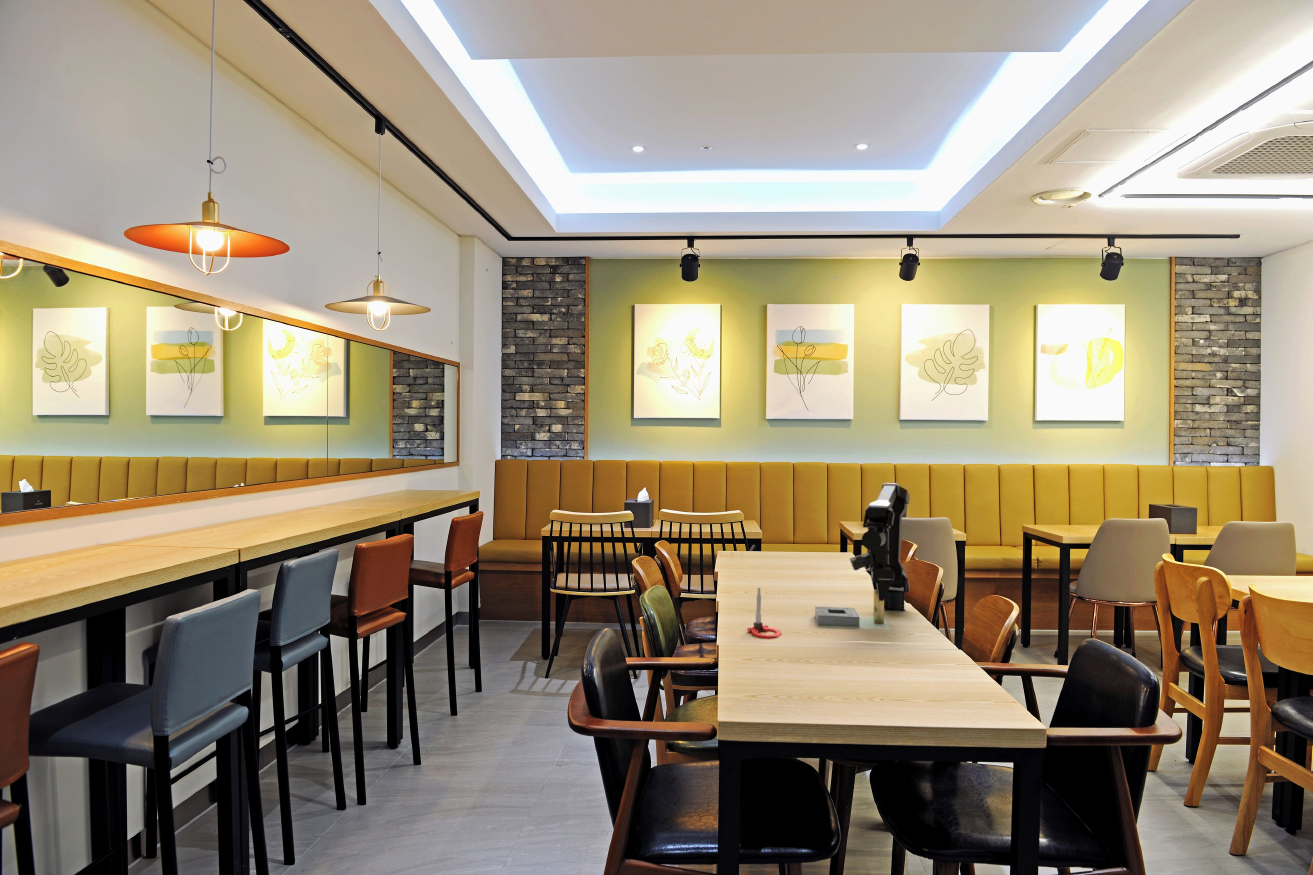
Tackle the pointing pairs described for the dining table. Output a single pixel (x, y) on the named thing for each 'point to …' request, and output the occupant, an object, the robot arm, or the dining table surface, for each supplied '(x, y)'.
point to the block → (836, 616)
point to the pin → (878, 609)
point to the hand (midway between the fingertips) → (878, 597)
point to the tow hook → (759, 624)
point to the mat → (866, 624)
